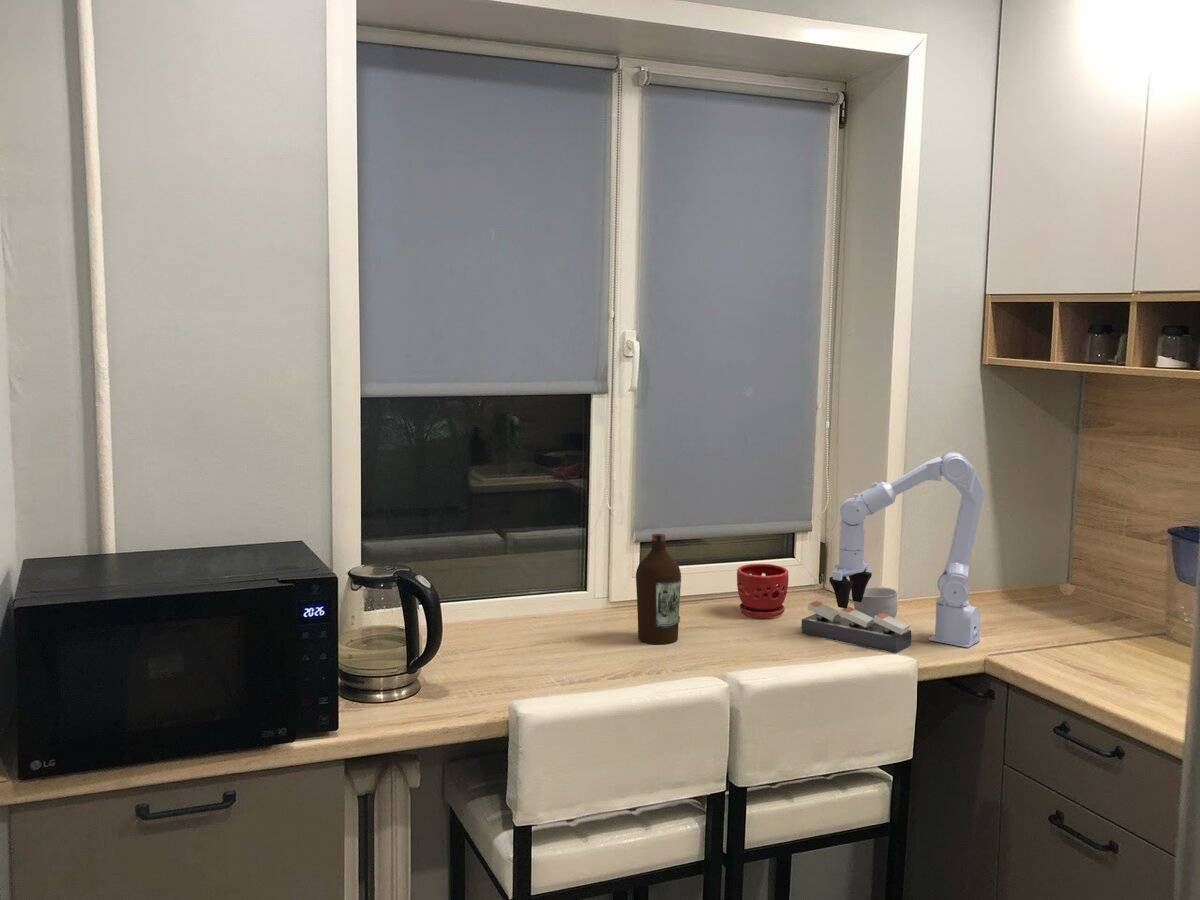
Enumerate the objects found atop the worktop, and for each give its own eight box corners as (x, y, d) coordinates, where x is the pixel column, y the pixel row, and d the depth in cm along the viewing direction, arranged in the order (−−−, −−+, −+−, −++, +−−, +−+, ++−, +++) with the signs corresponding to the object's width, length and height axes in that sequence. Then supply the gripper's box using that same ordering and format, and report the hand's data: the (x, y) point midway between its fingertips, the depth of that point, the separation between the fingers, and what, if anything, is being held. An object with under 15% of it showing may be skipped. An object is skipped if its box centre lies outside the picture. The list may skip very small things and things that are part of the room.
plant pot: (726, 611, 264) (727, 566, 263) (768, 605, 270) (769, 561, 268) (754, 623, 252) (755, 576, 251) (798, 617, 258) (799, 571, 257)
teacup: (887, 630, 247) (888, 598, 246) (845, 622, 253) (845, 591, 252) (907, 617, 258) (908, 587, 257) (867, 611, 264) (868, 581, 263)
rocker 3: (908, 630, 232) (910, 624, 232) (900, 634, 229) (902, 628, 229) (880, 617, 236) (882, 611, 236) (872, 621, 233) (874, 615, 233)
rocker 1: (840, 617, 243) (842, 611, 243) (832, 621, 240) (834, 615, 240) (815, 605, 247) (816, 599, 247) (807, 609, 244) (808, 603, 244)
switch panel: (910, 645, 234) (911, 625, 234) (896, 653, 228) (896, 632, 228) (817, 626, 250) (818, 607, 249) (801, 633, 244) (801, 614, 243)
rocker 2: (873, 624, 238) (875, 617, 237) (865, 627, 235) (867, 621, 234) (847, 611, 242) (848, 605, 241) (839, 615, 239) (840, 609, 238)
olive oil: (626, 637, 241) (627, 533, 238) (662, 630, 246) (663, 528, 244) (653, 648, 232) (654, 540, 229) (689, 640, 238) (690, 535, 235)
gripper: (850, 542, 250) (848, 596, 251) (821, 551, 239) (820, 607, 240) (877, 545, 245) (875, 600, 247) (849, 555, 234) (847, 612, 236)
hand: (849, 604), depth 243 cm, fingers open, 7 cm apart
